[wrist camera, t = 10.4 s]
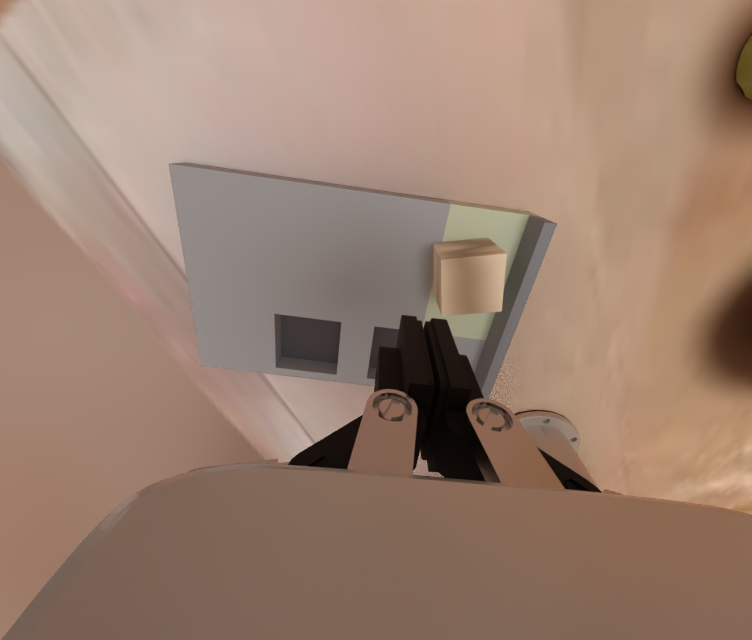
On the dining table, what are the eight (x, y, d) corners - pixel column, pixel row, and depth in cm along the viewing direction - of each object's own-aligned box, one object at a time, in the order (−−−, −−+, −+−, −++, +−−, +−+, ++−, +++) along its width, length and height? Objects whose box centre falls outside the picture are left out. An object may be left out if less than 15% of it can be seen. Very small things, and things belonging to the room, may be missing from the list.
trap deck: (529, 211, 30) (557, 224, 25) (469, 384, 40) (481, 416, 35) (185, 162, 29) (144, 165, 24) (211, 353, 39) (187, 382, 34)
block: (488, 237, 29) (506, 253, 24) (485, 288, 31) (501, 311, 27) (432, 242, 29) (441, 259, 25) (433, 292, 31) (441, 316, 27)
